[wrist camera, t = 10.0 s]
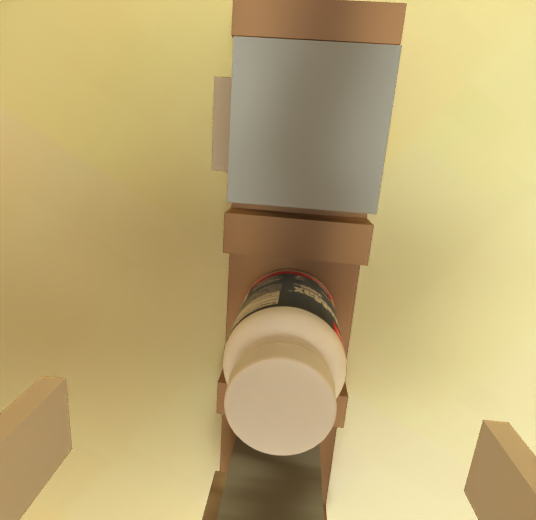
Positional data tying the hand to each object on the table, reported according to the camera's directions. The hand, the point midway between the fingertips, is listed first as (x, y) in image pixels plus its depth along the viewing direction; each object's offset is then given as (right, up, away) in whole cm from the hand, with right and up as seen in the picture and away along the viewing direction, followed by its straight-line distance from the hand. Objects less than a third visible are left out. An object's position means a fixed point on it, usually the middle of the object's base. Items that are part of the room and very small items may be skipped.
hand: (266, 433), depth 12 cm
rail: (+1, +3, +11) cm, 11 cm away
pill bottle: (+1, +3, +10) cm, 10 cm away
